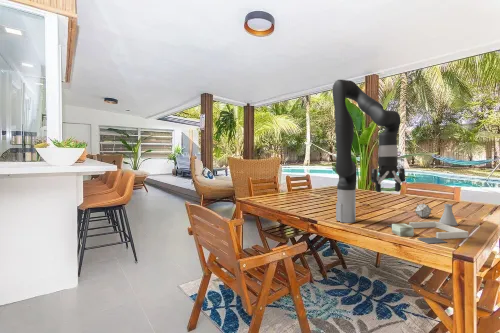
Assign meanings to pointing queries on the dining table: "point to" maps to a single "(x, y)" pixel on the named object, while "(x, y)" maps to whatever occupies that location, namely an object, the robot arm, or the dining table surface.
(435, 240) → the mats
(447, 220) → the flask
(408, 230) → the sage block
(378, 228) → the dining table surface
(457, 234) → the grey u-shaped bracket
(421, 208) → the game die
